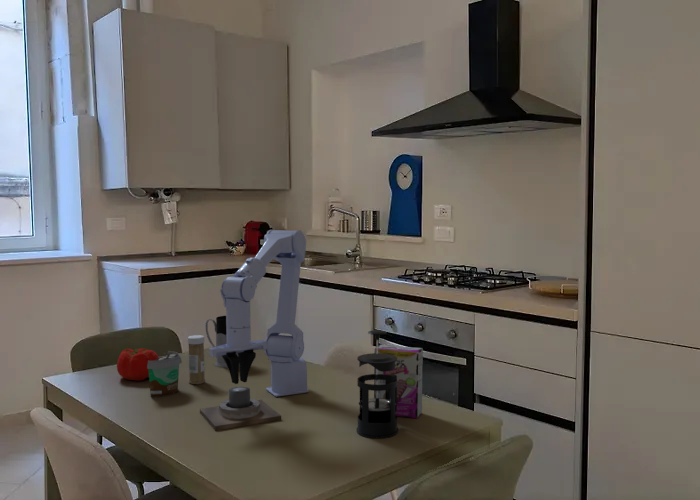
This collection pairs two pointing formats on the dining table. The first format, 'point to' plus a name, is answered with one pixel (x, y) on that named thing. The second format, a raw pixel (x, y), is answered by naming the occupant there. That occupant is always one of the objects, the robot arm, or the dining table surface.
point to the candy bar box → (405, 379)
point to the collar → (239, 415)
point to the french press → (377, 411)
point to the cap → (239, 397)
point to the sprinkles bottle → (196, 359)
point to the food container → (164, 374)
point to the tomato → (135, 363)
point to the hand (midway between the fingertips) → (239, 382)
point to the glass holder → (219, 337)
